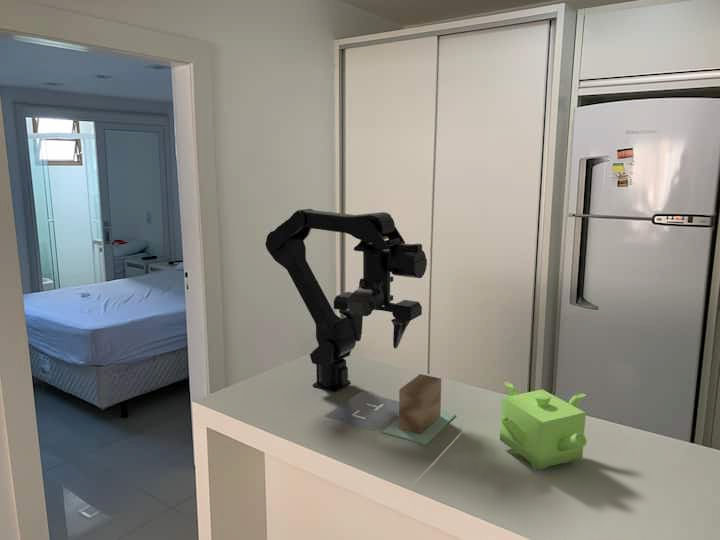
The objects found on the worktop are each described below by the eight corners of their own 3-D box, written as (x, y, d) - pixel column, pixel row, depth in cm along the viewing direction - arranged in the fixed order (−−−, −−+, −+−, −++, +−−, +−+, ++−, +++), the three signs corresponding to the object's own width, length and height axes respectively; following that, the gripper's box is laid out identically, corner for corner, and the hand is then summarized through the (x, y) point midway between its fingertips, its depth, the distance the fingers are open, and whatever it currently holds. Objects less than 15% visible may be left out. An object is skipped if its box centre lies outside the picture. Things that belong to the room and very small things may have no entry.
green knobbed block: (502, 430, 108) (504, 374, 106) (581, 442, 103) (585, 384, 101) (492, 470, 94) (495, 407, 92) (583, 486, 90) (588, 420, 87)
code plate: (324, 416, 114) (324, 415, 114) (361, 392, 126) (361, 391, 126) (375, 431, 108) (375, 430, 108) (409, 404, 119) (409, 403, 119)
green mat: (382, 433, 107) (382, 431, 107) (415, 406, 119) (415, 404, 118) (425, 446, 102) (425, 443, 102) (455, 416, 114) (455, 414, 114)
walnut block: (399, 428, 108) (399, 389, 106) (419, 410, 115) (420, 374, 114) (420, 434, 105) (421, 394, 104) (440, 416, 113) (441, 378, 111)
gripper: (317, 275, 116) (319, 347, 119) (397, 285, 107) (397, 363, 110) (347, 266, 126) (348, 333, 129) (423, 275, 116) (422, 347, 119)
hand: (376, 344), depth 121 cm, fingers open, 9 cm apart
